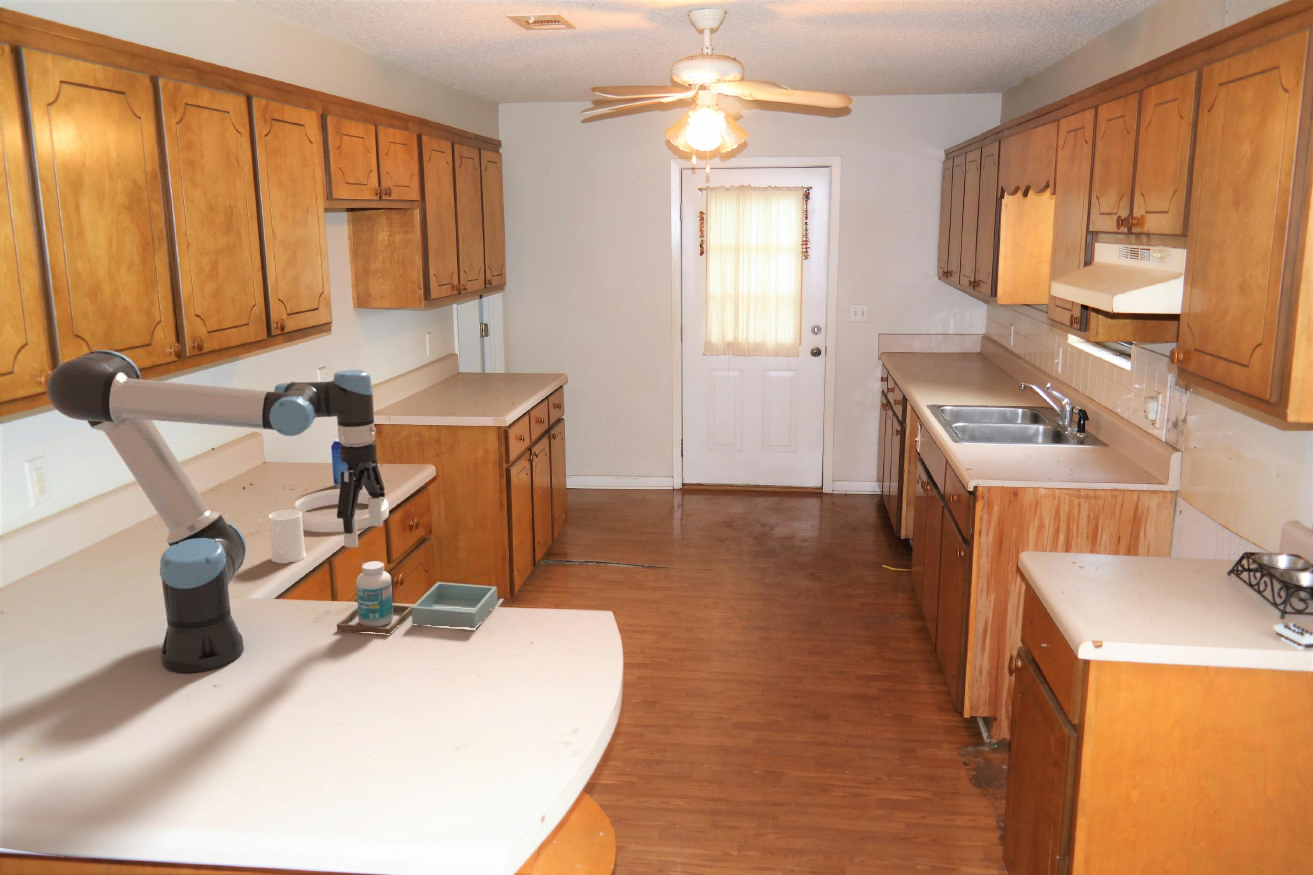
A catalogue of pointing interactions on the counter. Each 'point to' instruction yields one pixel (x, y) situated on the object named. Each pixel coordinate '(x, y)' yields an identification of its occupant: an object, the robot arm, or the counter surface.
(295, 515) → the mug
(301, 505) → the white hollow ring
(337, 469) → the beer can
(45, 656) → the counter surface
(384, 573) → the pill bottle
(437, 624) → the bin
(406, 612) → the frame
